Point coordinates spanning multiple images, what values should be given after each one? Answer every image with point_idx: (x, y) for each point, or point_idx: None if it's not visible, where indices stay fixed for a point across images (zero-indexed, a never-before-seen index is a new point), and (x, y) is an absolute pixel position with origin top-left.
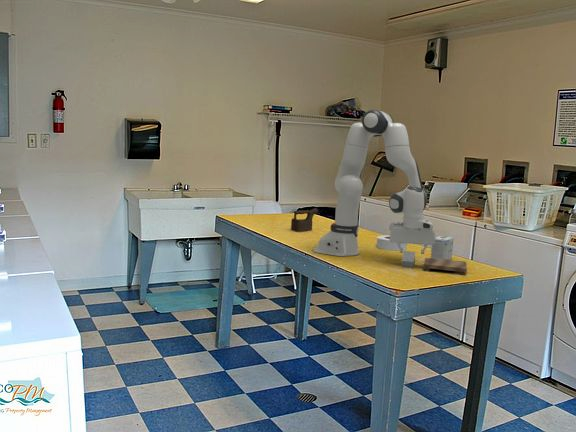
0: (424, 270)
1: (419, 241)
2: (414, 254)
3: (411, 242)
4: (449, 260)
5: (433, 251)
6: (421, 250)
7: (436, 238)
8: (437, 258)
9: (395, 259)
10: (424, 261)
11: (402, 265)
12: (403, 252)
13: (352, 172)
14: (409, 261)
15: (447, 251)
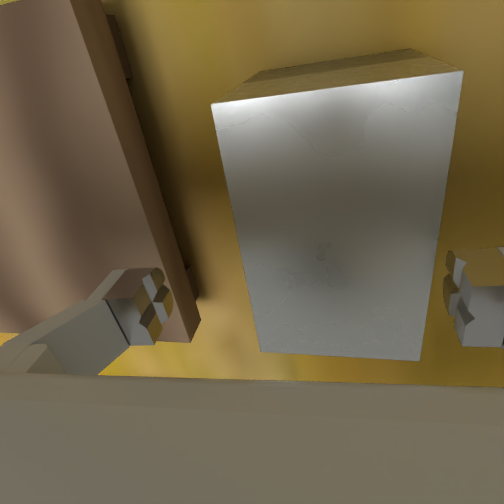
0: (111, 15)
1: (26, 431)
2: (231, 199)
3: (266, 401)
4: (7, 320)
5: None
6: (127, 297)
7: None
8: None
9: (476, 354)
10: (130, 177)
11: (404, 52)
12: (436, 245)
13: None
14: (303, 73)
15: None
